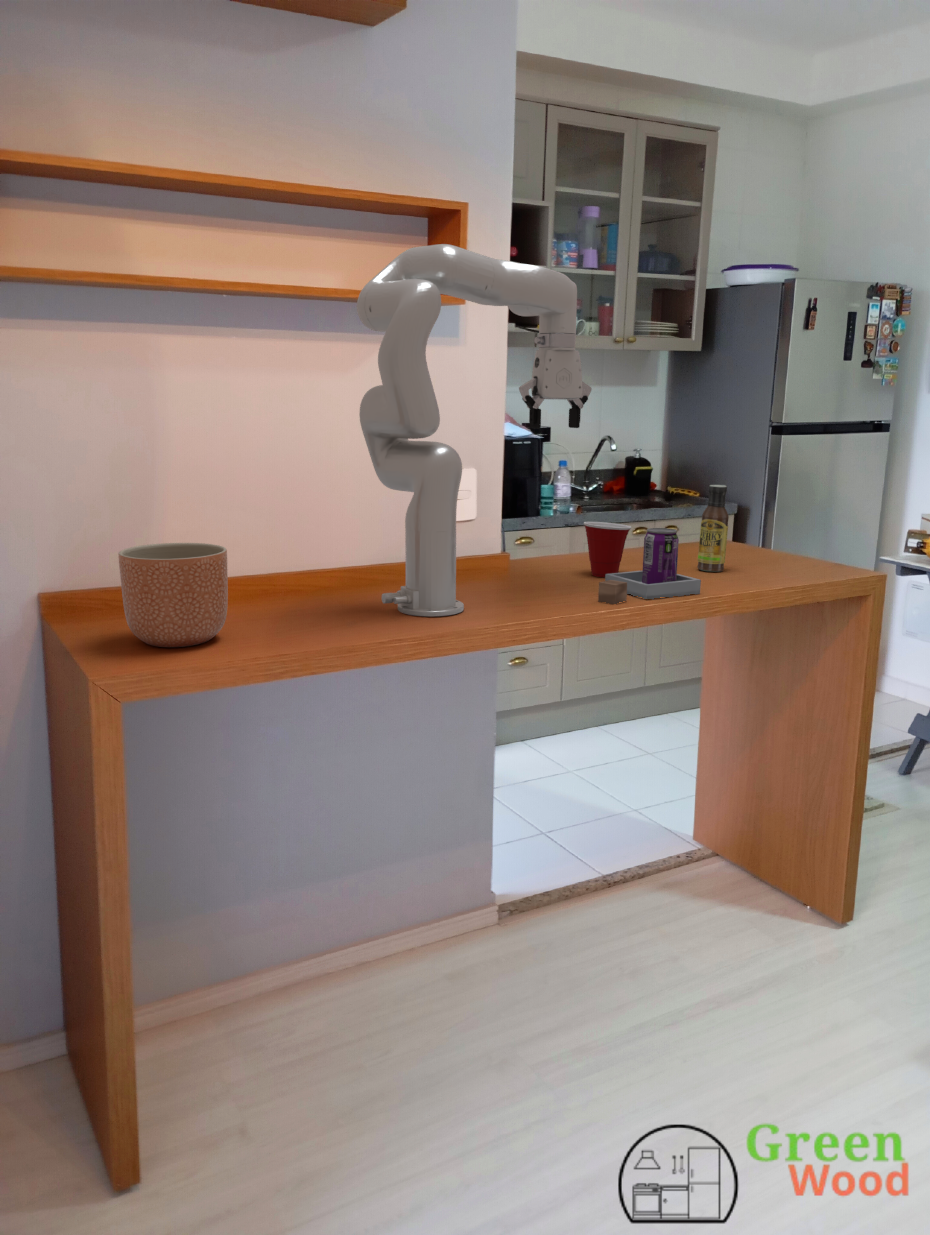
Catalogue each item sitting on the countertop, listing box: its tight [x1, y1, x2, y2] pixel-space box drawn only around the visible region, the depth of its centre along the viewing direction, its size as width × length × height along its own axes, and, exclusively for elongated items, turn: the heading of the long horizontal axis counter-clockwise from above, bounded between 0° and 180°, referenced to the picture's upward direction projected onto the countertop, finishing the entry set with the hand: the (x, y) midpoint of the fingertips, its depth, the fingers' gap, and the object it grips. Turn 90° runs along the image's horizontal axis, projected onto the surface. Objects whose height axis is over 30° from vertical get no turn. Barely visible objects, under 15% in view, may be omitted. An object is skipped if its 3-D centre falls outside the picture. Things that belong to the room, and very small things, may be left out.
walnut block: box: [597, 580, 628, 605], centre depth 200 cm, size 4×4×4 cm
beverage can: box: [642, 527, 680, 584], centre depth 211 cm, size 7×7×12 cm
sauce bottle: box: [697, 484, 730, 573], centre depth 234 cm, size 6×6×20 cm
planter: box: [118, 542, 229, 648], centre depth 166 cm, size 17×17×15 cm
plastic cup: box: [583, 521, 632, 578], centre depth 227 cm, size 11×11×12 cm
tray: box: [604, 569, 702, 600], centre depth 211 cm, size 14×14×3 cm
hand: (554, 428), depth 211 cm, fingers open, 9 cm apart
